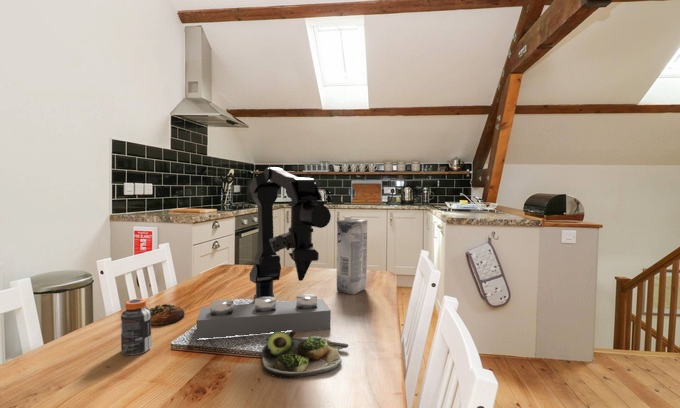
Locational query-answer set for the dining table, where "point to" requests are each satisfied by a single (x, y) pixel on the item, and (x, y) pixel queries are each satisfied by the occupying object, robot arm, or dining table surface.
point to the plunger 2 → (306, 301)
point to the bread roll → (166, 314)
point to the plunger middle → (265, 304)
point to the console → (263, 320)
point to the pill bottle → (135, 328)
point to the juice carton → (351, 255)
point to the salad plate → (298, 355)
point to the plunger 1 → (221, 307)
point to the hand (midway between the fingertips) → (300, 280)
